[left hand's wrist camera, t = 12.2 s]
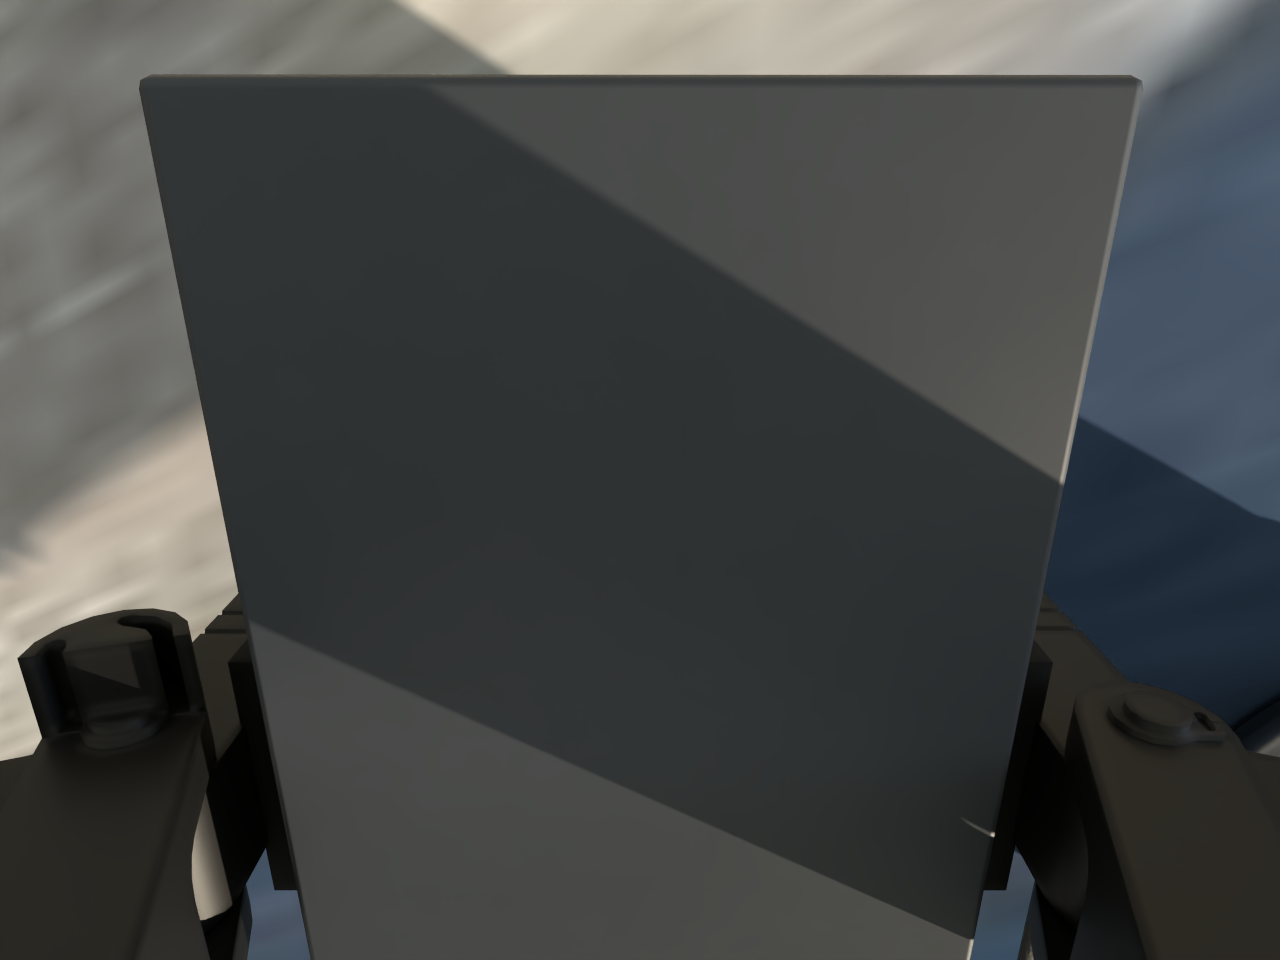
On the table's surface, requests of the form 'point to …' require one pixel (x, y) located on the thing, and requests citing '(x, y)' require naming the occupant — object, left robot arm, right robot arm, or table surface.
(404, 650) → the beam
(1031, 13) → the table surface
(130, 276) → the table surface
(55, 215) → the table surface
